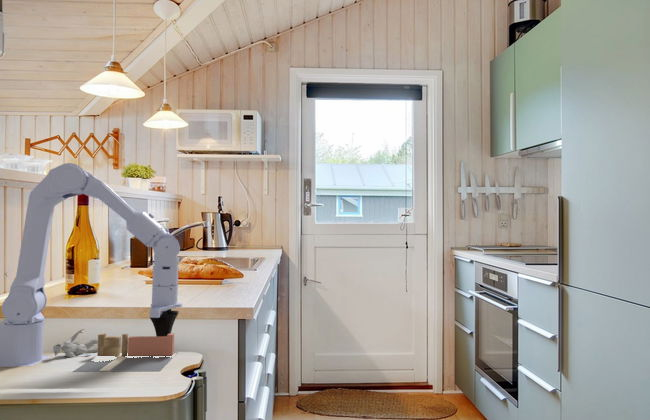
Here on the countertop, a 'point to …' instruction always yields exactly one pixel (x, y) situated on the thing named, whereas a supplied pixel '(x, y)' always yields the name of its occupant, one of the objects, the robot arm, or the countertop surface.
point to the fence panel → (151, 345)
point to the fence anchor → (112, 345)
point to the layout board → (126, 364)
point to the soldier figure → (76, 347)
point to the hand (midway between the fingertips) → (163, 342)
